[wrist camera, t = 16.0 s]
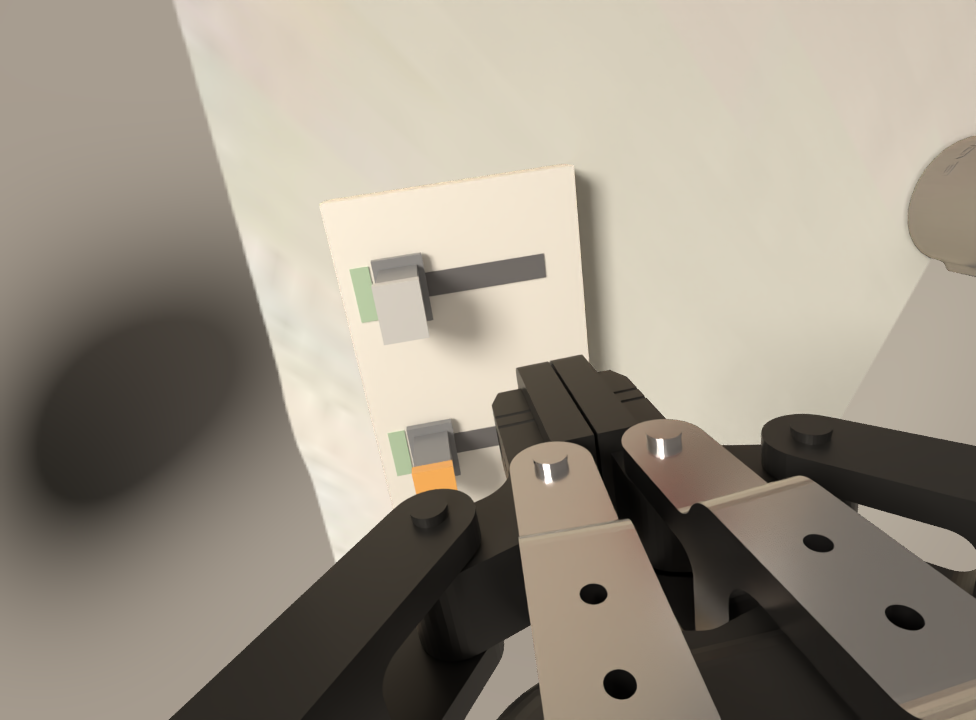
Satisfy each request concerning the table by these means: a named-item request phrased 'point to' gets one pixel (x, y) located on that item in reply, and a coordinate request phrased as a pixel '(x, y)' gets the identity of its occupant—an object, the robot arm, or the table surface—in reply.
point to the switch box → (461, 306)
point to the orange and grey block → (433, 455)
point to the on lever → (401, 298)
